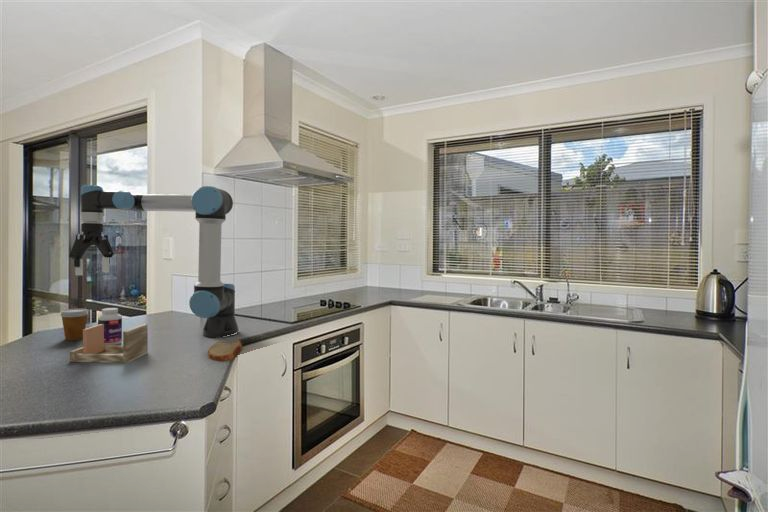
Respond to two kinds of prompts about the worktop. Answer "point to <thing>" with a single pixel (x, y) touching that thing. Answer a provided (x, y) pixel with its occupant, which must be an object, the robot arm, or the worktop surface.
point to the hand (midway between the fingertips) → (92, 273)
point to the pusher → (93, 339)
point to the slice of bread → (224, 351)
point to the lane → (118, 348)
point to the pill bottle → (111, 326)
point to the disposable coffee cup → (74, 323)
